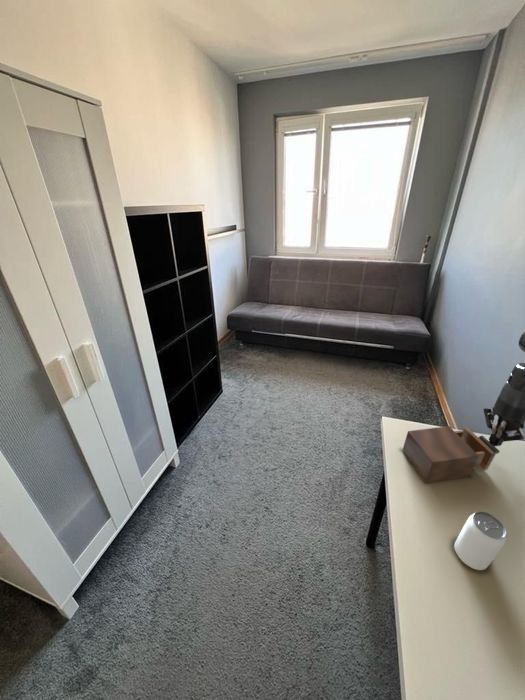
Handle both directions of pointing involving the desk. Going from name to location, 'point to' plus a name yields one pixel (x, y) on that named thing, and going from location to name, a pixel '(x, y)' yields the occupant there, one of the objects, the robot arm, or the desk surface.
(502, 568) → the desk surface
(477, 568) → the can
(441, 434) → the cabinet
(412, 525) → the desk surface
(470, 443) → the drawer
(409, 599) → the desk surface
